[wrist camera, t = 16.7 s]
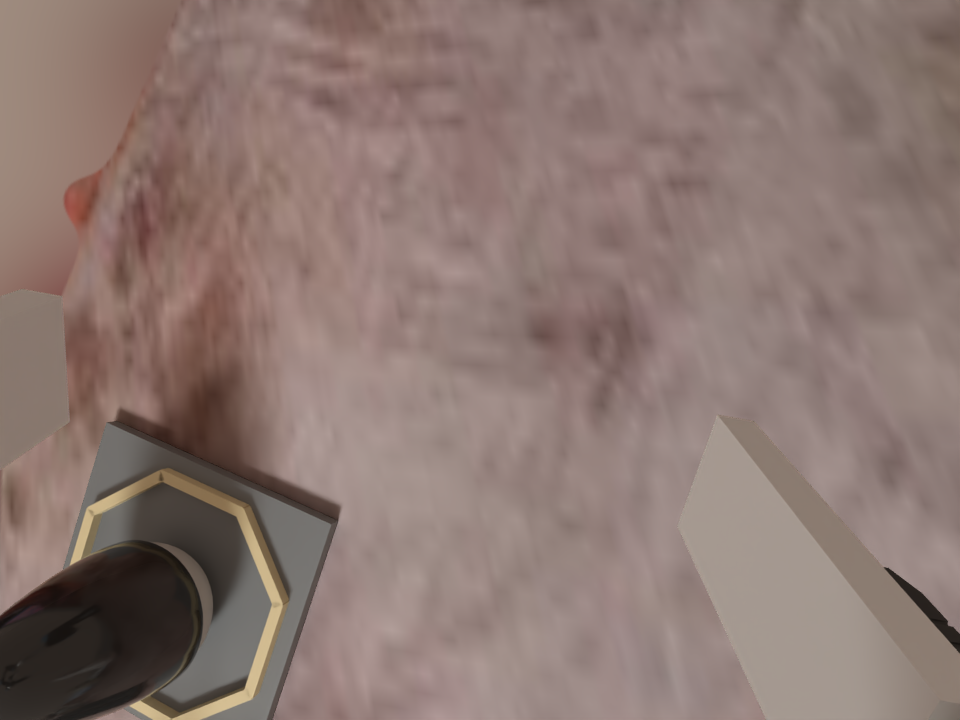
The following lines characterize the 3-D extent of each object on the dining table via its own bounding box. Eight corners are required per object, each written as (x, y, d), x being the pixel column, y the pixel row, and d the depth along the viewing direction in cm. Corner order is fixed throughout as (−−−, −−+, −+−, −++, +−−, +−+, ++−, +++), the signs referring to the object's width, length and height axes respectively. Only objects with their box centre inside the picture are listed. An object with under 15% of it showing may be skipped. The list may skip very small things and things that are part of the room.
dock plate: (117, 421, 48) (97, 423, 46) (337, 520, 44) (325, 527, 42) (48, 652, 50) (26, 663, 48) (254, 771, 45) (239, 787, 43)
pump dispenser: (101, 547, 47) (-139, 633, 32) (212, 508, 45) (9, 581, 30) (139, 677, 46) (-89, 826, 32) (254, 645, 44) (66, 788, 29)
